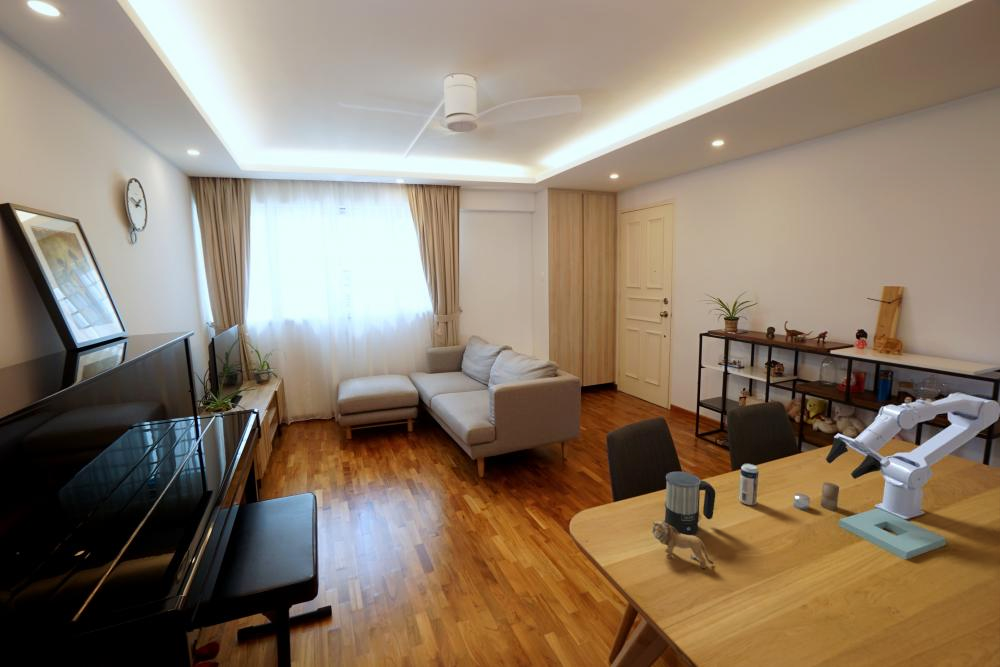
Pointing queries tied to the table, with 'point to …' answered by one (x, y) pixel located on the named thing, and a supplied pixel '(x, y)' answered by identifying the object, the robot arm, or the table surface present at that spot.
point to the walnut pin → (829, 496)
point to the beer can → (748, 484)
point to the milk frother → (687, 501)
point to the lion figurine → (679, 541)
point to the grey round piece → (801, 501)
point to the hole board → (903, 545)
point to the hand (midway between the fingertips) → (839, 468)
